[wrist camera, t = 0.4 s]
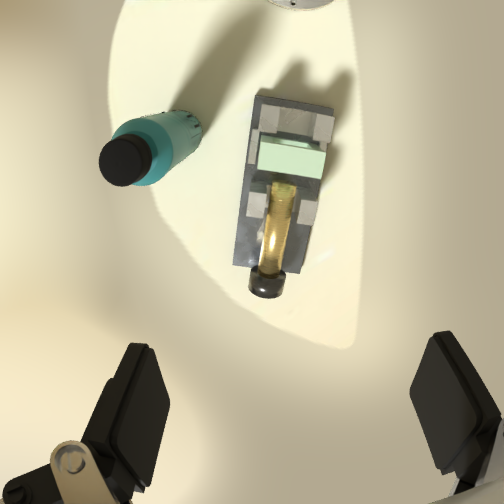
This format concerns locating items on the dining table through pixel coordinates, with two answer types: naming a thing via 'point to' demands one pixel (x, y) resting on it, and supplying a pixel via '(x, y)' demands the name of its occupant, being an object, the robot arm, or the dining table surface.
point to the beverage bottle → (149, 148)
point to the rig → (259, 181)
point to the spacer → (291, 157)
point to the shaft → (274, 242)
